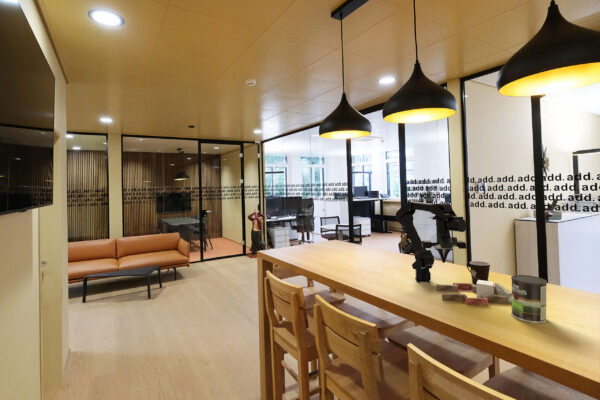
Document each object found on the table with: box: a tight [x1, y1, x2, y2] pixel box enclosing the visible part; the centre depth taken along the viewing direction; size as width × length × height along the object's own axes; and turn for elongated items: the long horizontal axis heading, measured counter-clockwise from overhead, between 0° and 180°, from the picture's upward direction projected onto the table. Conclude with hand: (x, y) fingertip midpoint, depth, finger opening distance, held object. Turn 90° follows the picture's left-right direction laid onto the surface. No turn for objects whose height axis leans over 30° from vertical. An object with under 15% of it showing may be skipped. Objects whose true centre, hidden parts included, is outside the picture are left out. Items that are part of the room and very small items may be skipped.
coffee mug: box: [466, 260, 491, 286], centre depth 150 cm, size 12×9×10 cm
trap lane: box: [435, 282, 512, 306], centre depth 133 cm, size 26×20×4 cm
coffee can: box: [510, 274, 548, 324], centre depth 110 cm, size 10×10×14 cm
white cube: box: [476, 280, 495, 298], centre depth 132 cm, size 6×6×6 cm
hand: (443, 262), depth 144 cm, fingers closed
